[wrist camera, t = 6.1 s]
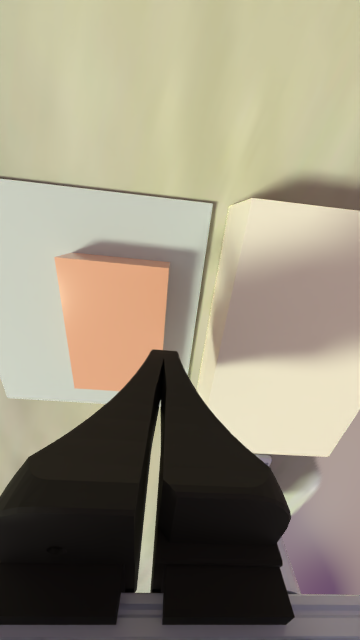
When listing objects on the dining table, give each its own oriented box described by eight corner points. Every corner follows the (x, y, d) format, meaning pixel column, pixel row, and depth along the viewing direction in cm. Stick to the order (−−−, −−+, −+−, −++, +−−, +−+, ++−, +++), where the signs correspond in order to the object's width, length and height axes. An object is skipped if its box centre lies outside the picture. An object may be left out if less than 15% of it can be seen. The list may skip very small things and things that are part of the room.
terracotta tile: (74, 388, 14) (85, 370, 16) (159, 393, 15) (161, 375, 17) (54, 257, 11) (71, 252, 12) (169, 268, 11) (170, 262, 13)
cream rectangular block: (299, 412, 19) (328, 456, 15) (193, 406, 19) (197, 450, 15) (390, 224, 12) (480, 225, 9) (229, 206, 12) (252, 197, 8)
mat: (182, 405, 18) (182, 408, 18) (10, 395, 18) (7, 398, 17) (211, 203, 12) (212, 203, 12) (-65, 171, 11) (-71, 170, 11)
